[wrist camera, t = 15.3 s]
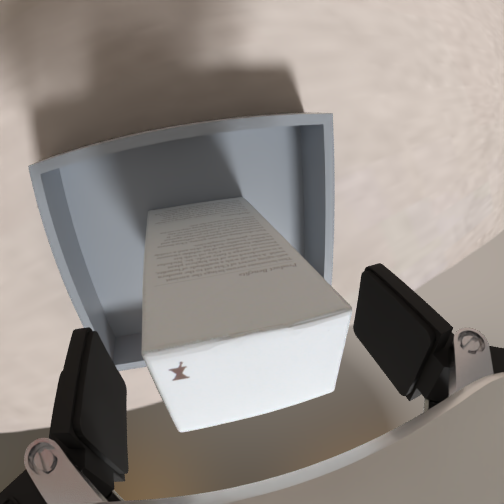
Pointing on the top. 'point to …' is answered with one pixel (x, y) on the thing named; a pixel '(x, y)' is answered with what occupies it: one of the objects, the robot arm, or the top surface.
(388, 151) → the top surface
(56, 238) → the tray
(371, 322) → the robot arm
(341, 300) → the skincare box
